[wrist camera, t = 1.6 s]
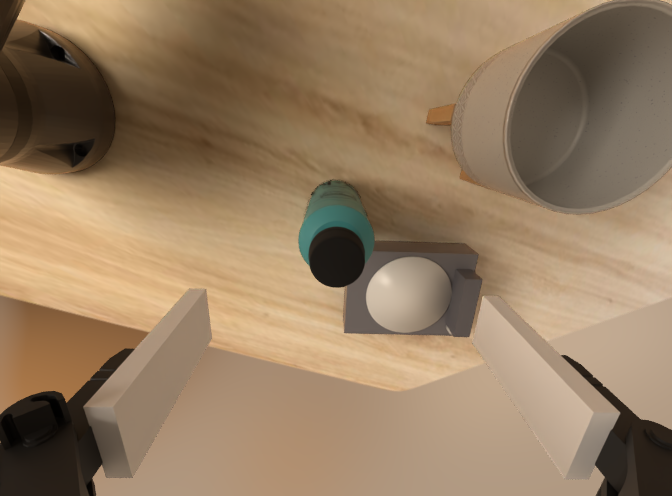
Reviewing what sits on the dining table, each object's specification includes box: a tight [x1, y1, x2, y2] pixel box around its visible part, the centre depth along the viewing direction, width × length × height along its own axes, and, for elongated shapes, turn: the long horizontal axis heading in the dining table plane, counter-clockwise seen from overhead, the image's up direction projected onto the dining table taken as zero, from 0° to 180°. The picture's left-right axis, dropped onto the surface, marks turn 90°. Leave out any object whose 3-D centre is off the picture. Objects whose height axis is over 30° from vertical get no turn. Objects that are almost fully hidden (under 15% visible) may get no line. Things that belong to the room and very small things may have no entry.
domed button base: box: [343, 241, 482, 337], centre depth 41 cm, size 16×12×7 cm
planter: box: [426, 0, 672, 215], centre depth 29 cm, size 13×13×18 cm
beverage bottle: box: [299, 179, 375, 287], centre depth 30 cm, size 6×7×20 cm
